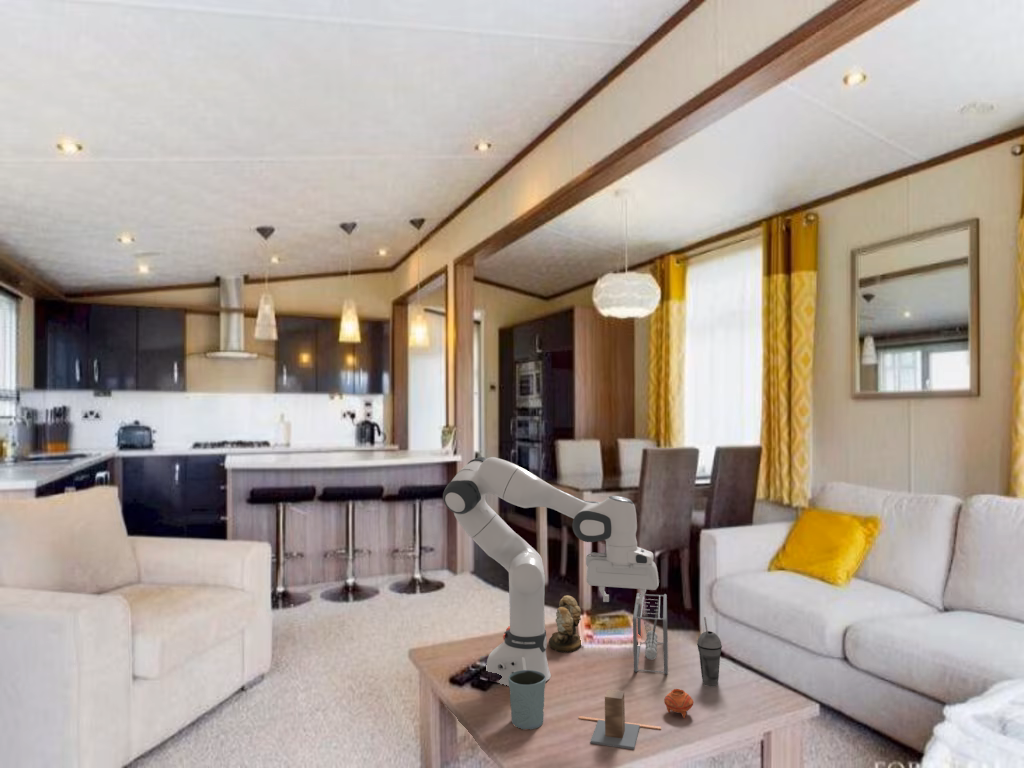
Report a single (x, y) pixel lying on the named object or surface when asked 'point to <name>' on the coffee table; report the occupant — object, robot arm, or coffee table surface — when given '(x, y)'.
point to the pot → (678, 701)
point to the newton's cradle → (650, 633)
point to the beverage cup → (709, 656)
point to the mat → (625, 742)
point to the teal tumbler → (527, 698)
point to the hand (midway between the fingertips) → (622, 602)
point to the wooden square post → (614, 714)
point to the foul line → (625, 722)
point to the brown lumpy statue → (566, 626)
